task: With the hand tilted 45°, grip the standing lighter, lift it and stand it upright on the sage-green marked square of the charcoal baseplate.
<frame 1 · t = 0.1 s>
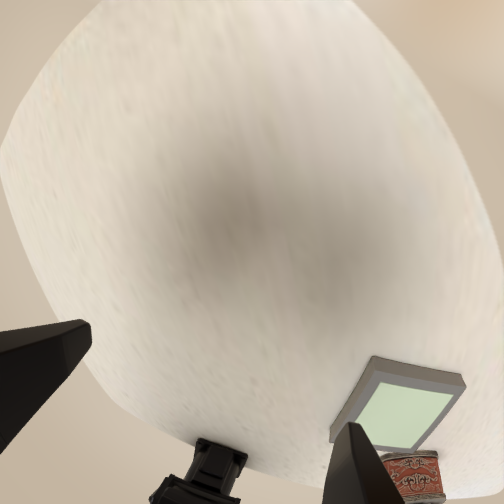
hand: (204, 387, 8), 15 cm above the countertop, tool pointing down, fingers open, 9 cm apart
lighter: (408, 457, 25), on the countertop
baseplate: (395, 405, 23), on the countertop
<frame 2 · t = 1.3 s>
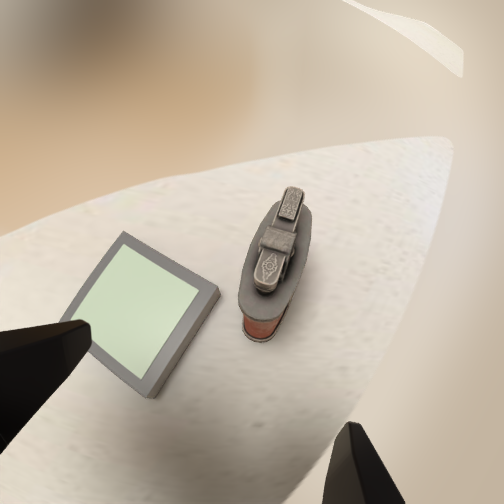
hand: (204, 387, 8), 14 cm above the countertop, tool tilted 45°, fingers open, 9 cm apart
lighter: (270, 295, 24), on the countertop
baseplate: (138, 314, 23), on the countertop
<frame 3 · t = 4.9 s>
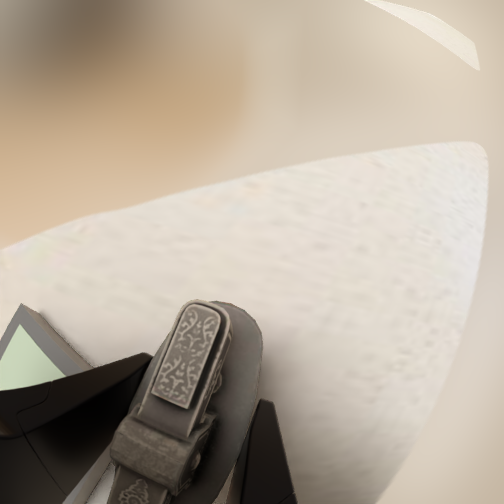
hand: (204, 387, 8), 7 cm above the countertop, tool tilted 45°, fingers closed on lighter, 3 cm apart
lighter: (217, 414, 14), on the countertop, touching gripper
baseplate: (48, 416, 13), on the countertop
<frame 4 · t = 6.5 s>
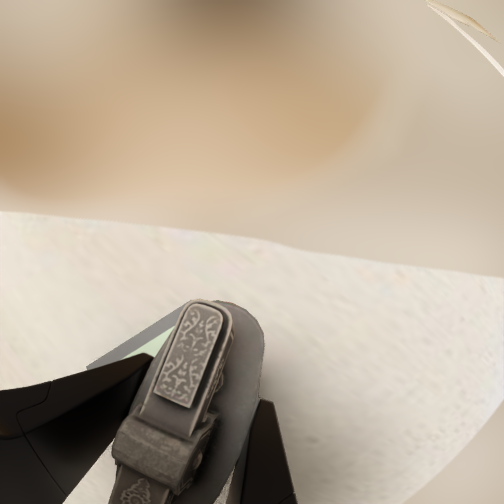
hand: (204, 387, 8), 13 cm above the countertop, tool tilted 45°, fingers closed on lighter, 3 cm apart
lighter: (218, 414, 14), point 6 cm above the countertop, touching gripper
baseplate: (176, 394, 20), on the countertop
when the fingers open (10 cm above the countertop, at t = 8.3 s): lighter drops 1 cm, resting on baseplate.
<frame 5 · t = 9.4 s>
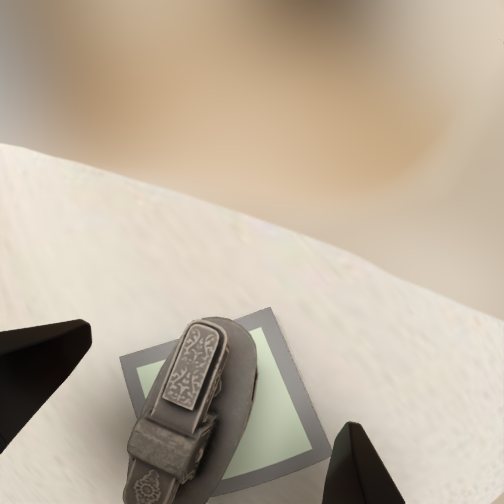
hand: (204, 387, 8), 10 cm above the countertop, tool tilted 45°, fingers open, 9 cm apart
lighter: (219, 415, 15), point 2 cm above the countertop, touching baseplate
baseplate: (223, 411, 17), on the countertop
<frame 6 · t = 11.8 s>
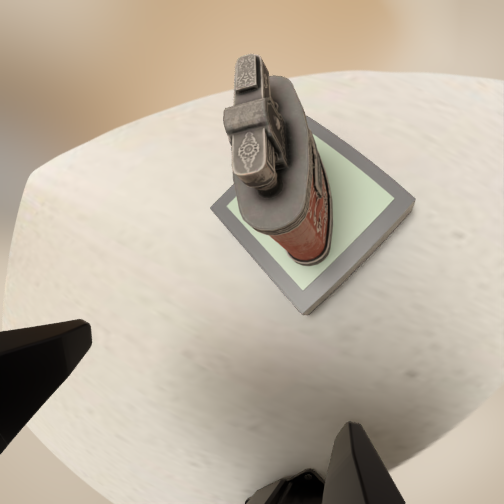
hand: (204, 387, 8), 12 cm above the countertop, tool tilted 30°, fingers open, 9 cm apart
lighter: (306, 204, 19), point 2 cm above the countertop, touching baseplate
baseplate: (312, 212, 20), on the countertop
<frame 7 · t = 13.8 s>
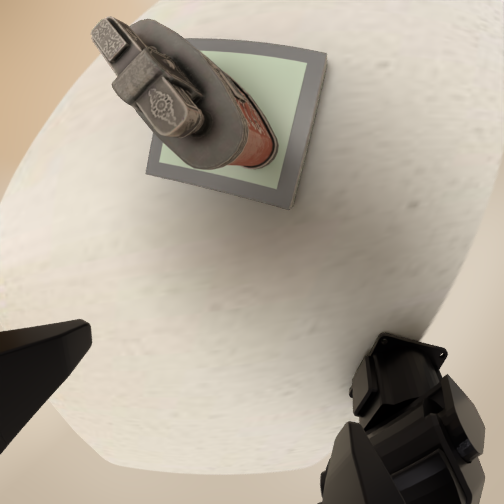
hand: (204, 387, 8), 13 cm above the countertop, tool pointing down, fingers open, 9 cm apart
lighter: (230, 113, 17), point 2 cm above the countertop, touching baseplate
baseplate: (237, 116, 18), on the countertop
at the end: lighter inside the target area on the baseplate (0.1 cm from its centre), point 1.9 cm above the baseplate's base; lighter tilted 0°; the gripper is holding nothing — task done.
